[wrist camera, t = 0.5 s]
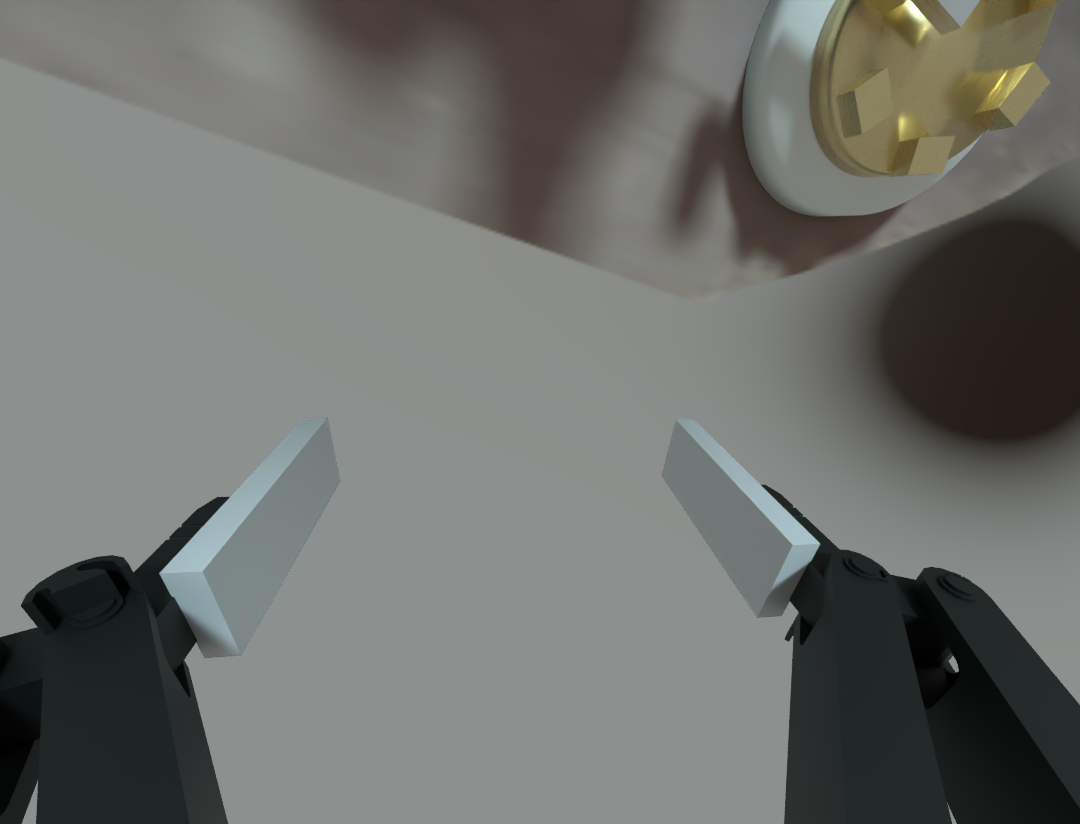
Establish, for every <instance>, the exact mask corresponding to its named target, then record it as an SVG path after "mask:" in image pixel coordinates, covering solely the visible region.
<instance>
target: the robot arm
mask: <svg viewBox="0 0 1080 824" xmlns="http://www.w3.org/2000/svg"><path fill="white" fill-rule="evenodd" d="M662 477H663V479H664V480H665V482H666V483H667V485H668V486H669V488H670V489H671V490H672V492H673V493H674V495H675V497H676V498H677V500H678V501H679V502H680V504H681V505H682V507H683V508H684V510H685V511H686V513H687V514H688V516H689V517H690V519H691V520H692V522H693V523H694V525H695V526H696V528H697V529H698V531H699V532H700V534H701V535H702V537H703V538H704V540H705V541H706V543H707V544H708V546H709V547H710V548H711V550H712V552H713V553H714V555H715V556H716V558H717V559H718V560H719V562H720V563H721V565H722V566H723V568H724V569H725V571H726V572H727V574H728V575H729V577H730V578H731V580H732V581H733V583H734V584H735V586H736V587H737V589H738V590H739V592H740V593H741V595H742V596H743V598H744V599H745V601H746V602H747V604H748V605H749V607H750V608H751V609H752V611H753V612H754V614H755V616H756V617H757V618H760V617H774V616H782V614H783V612H784V611H785V609H786V607H787V605H788V603H789V601H790V602H791V603H792V604H793V605H794V607H795V608H796V609H797V610H798V612H799V613H798V615H797V617H796V618H795V620H794V622H793V624H792V626H791V627H790V629H789V631H788V632H787V635H786V637H785V640H787V641H790V639H791V637H792V636H794V639H793V659H792V679H791V700H790V719H789V740H788V759H787V760H788V761H787V779H786V800H785V820H784V824H952V821H951V817H950V813H949V809H948V805H949V807H950V809H951V811H952V814H953V816H954V818H955V820H956V823H957V824H1080V705H1079V704H1078V702H1077V701H1076V700H1075V699H1074V698H1073V696H1072V695H1071V694H1070V693H1069V692H1068V690H1067V689H1066V688H1065V687H1064V686H1063V684H1062V683H1061V682H1060V681H1059V679H1058V678H1057V677H1056V676H1055V675H1054V674H1053V672H1052V671H1051V670H1050V669H1049V667H1048V666H1047V665H1046V664H1045V663H1044V661H1043V660H1042V659H1041V658H1040V657H1039V655H1038V654H1037V653H1036V652H1035V651H1034V649H1033V648H1032V647H1031V646H1030V645H1029V643H1028V642H1027V641H1026V640H1025V638H1024V637H1023V636H1022V635H1021V634H1020V632H1019V631H1018V630H1017V629H1016V628H1015V626H1014V625H1013V624H1012V623H1011V622H1010V620H1009V619H1008V618H1007V617H1006V616H1005V614H1004V613H1003V612H1002V611H1001V610H1000V608H999V607H998V606H997V605H996V604H995V602H994V601H993V600H992V599H991V598H990V597H989V596H988V595H987V594H986V593H985V592H984V591H983V590H982V589H981V588H979V587H978V586H976V585H975V584H974V583H972V582H971V581H970V580H968V579H966V578H965V577H961V575H958V574H956V573H953V572H950V571H947V570H944V569H941V568H934V567H929V568H924V569H923V571H922V572H921V573H920V575H919V576H918V577H917V579H916V580H914V579H909V578H904V577H899V576H894V575H890V574H889V573H888V572H887V571H886V570H885V569H884V568H883V567H882V566H880V565H879V564H878V563H876V562H875V561H873V560H872V559H870V558H868V557H866V556H864V555H862V554H859V553H856V552H853V551H849V550H840V549H838V548H837V547H836V546H835V545H834V544H833V543H832V542H831V541H830V540H829V539H828V538H827V537H826V536H825V535H824V534H823V533H821V532H820V531H819V530H818V529H817V528H816V527H815V526H814V525H813V524H812V523H811V522H810V521H809V520H808V519H807V518H806V517H803V515H802V514H801V513H800V512H799V511H798V510H797V509H796V508H793V505H792V504H791V503H790V502H789V501H787V499H785V498H784V497H783V496H782V495H781V494H779V493H778V492H776V491H775V490H773V489H771V488H770V487H768V486H766V485H760V484H759V483H758V482H757V481H756V480H755V479H754V478H753V477H752V476H751V475H750V474H749V473H748V472H747V471H746V470H745V469H743V467H742V466H741V465H739V464H738V462H736V461H735V460H734V459H733V458H732V457H731V456H730V455H729V454H728V453H727V452H726V451H725V450H724V449H723V448H722V447H721V446H720V445H719V444H718V443H717V442H716V441H715V440H714V439H713V438H712V437H711V436H710V435H709V434H708V433H707V432H706V431H705V430H704V429H703V428H702V427H701V426H700V425H699V424H698V423H697V422H696V421H694V420H676V421H675V426H674V429H673V433H672V437H671V441H670V445H669V449H668V452H667V456H666V460H665V464H664V468H663V472H662ZM339 482H340V477H339V473H338V468H337V463H336V458H335V453H334V448H333V443H332V438H331V434H330V428H329V423H328V418H303V419H302V420H301V421H300V423H299V424H298V425H297V426H296V427H295V428H294V429H293V430H292V431H291V432H290V433H289V435H287V436H286V438H285V439H284V440H283V441H282V442H281V443H280V444H279V445H278V446H277V447H276V448H275V449H274V450H273V452H272V453H271V454H270V455H269V456H268V457H267V458H266V459H265V460H264V461H263V462H262V463H261V465H260V466H259V467H258V468H257V469H256V470H255V471H254V472H253V473H252V474H251V475H250V476H249V477H248V479H247V480H246V481H245V482H244V483H243V484H242V485H241V486H240V487H239V488H238V489H237V490H236V491H235V493H234V494H233V495H232V496H231V497H217V498H215V499H214V500H212V501H210V502H209V503H207V504H205V505H204V506H202V507H201V508H199V509H197V510H196V511H195V512H194V513H193V514H192V515H191V516H190V517H189V518H188V519H187V520H186V521H185V522H184V523H183V524H182V527H179V528H178V529H177V530H176V531H175V532H174V533H173V534H172V535H171V536H170V539H169V540H166V541H165V542H164V543H163V544H162V545H161V546H160V547H159V548H158V549H157V550H156V551H155V552H154V553H153V554H152V555H151V556H150V557H149V558H148V559H147V560H146V561H145V562H144V563H143V564H142V565H141V566H140V567H139V568H138V569H137V570H136V571H135V572H134V573H133V571H132V570H131V568H130V566H129V564H128V563H127V561H126V560H125V559H124V558H123V557H118V556H113V555H111V556H102V557H95V558H92V559H88V560H85V561H81V562H78V563H75V564H73V565H71V566H69V567H66V568H64V569H62V570H60V571H57V572H56V573H54V574H53V575H51V576H49V577H48V578H46V579H45V580H43V581H42V582H40V583H38V584H37V585H36V586H35V587H34V588H33V589H32V590H31V591H30V592H29V593H28V594H27V595H26V596H25V598H24V600H23V602H22V604H21V607H22V608H23V609H24V610H25V612H26V613H27V614H28V615H29V617H30V618H31V619H32V620H33V621H34V623H35V624H36V625H37V628H33V629H29V630H26V631H22V632H18V633H14V634H11V635H7V636H3V637H0V824H22V821H23V818H24V816H25V813H26V810H27V808H28V805H29V802H30V800H31V797H32V794H33V792H34V789H35V786H36V784H37V781H38V795H37V797H38V798H37V816H36V824H228V822H227V818H226V814H225V810H224V806H223V802H222V798H221V794H220V790H219V786H218V782H217V778H216V774H215V770H214V766H213V763H212V759H211V755H210V751H209V747H208V743H207V739H206V735H205V731H204V727H203V723H202V719H201V716H200V711H199V707H198V703H197V700H196V696H195V692H194V688H193V684H192V680H191V676H190V672H189V668H188V666H187V665H186V663H185V661H184V659H185V658H186V656H187V654H188V653H189V652H190V650H191V649H192V647H193V646H194V644H195V643H197V645H198V647H199V649H200V650H201V652H202V654H203V656H204V658H212V657H226V656H240V655H242V653H243V651H244V650H245V648H246V646H247V644H248V643H249V641H250V639H251V637H252V636H253V634H254V632H255V630H256V628H257V627H258V625H259V623H260V621H261V620H262V618H263V616H264V614H265V613H266V611H267V609H268V607H269V606H270V604H271V602H272V600H273V598H274V597H275V595H276V593H277V591H278V590H279V588H280V586H281V584H282V582H283V581H284V579H285V577H286V576H287V574H288V572H289V570H290V569H291V567H292V565H293V563H294V561H295V560H296V558H297V556H298V554H299V552H300V551H301V549H302V547H303V546H304V544H305V542H306V540H307V539H308V537H309V535H310V533H311V531H312V530H313V528H314V526H315V524H316V522H317V521H318V519H319V517H320V516H321V514H322V512H323V510H324V509H325V507H326V505H327V503H328V501H329V499H330V498H331V496H332V494H333V493H334V491H335V489H336V487H337V486H338V484H339ZM952 656H954V657H955V659H956V661H957V664H958V668H959V672H957V673H956V672H955V671H954V670H953V668H952V666H951V665H950V663H949V662H948V661H949V660H950V659H951V657H952ZM947 803H948V805H947Z"/></svg>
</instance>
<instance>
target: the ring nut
mask: <svg viewBox="0 0 1080 824" xmlns="http://www.w3.org/2000/svg"><path fill="white" fill-rule="evenodd" d="M1057 1H1059V0H836V1H835V3H834V5H833V7H832V9H831V11H830V13H829V16H828V18H827V20H826V23H825V25H824V27H823V30H822V33H821V36H820V39H819V42H818V45H817V49H816V53H815V57H814V61H813V66H812V72H811V79H810V94H809V100H810V114H811V121H812V126H813V130H814V133H815V136H816V139H817V141H818V143H819V145H820V148H821V149H822V151H823V152H824V154H825V155H826V157H827V158H828V159H829V160H830V161H831V162H832V163H833V164H834V165H835V166H836V167H838V168H839V169H841V170H842V171H844V172H846V173H849V174H851V175H854V176H859V177H881V176H889V177H901V176H918V175H928V174H937V173H943V170H944V167H945V165H946V162H947V160H949V159H950V158H952V157H954V156H955V155H957V154H958V153H960V152H961V151H963V150H964V149H965V148H967V147H968V146H969V145H971V144H972V143H973V142H974V141H975V140H976V139H978V138H979V137H980V136H981V135H982V134H983V133H984V132H985V131H986V130H987V129H989V130H990V131H993V130H999V129H1004V128H1009V127H1015V126H1016V125H1017V123H1018V122H1019V121H1020V120H1021V118H1022V117H1023V116H1024V115H1025V113H1026V112H1027V111H1028V110H1029V109H1030V107H1031V106H1032V105H1033V104H1034V102H1035V101H1036V100H1037V99H1038V97H1039V96H1040V95H1041V94H1042V92H1043V91H1044V90H1045V89H1046V87H1047V86H1048V85H1049V84H1050V83H1051V82H1050V81H1049V79H1048V78H1047V77H1046V76H1045V74H1044V73H1043V72H1042V71H1041V69H1040V68H1039V67H1038V66H1037V65H1036V63H1035V61H1036V59H1037V57H1038V55H1039V52H1040V50H1041V48H1042V46H1043V43H1044V41H1045V38H1046V35H1047V33H1048V30H1049V27H1050V24H1051V21H1052V18H1053V14H1054V10H1055V7H1056V3H1057Z"/></svg>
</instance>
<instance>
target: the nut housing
mask: <svg viewBox="0 0 1080 824" xmlns="http://www.w3.org/2000/svg"><path fill="white" fill-rule="evenodd" d="M835 1H836V0H770V2H769V5H768V7H767V9H766V11H765V13H764V16H763V18H762V20H761V22H760V25H759V28H758V30H757V33H756V36H755V39H754V42H753V45H752V48H751V52H750V56H749V60H748V64H747V68H746V74H745V81H744V87H743V100H742V124H743V134H744V140H745V147H746V150H747V154H748V157H749V161H750V163H751V166H752V168H753V170H754V172H755V175H756V177H757V178H758V180H759V181H760V183H761V185H762V186H763V188H764V189H765V190H766V191H767V192H768V193H769V194H770V196H771V197H772V198H773V199H775V200H776V201H777V202H778V203H780V204H781V205H782V206H784V207H786V208H788V209H790V210H792V211H794V212H797V213H800V214H804V215H810V216H854V215H868V214H873V213H878V212H882V211H885V210H888V209H891V208H894V207H896V206H898V205H900V204H902V203H904V202H907V201H909V200H911V199H912V198H914V197H915V196H917V195H919V194H920V193H922V192H924V191H925V190H927V189H928V188H929V187H931V186H932V185H933V184H934V183H936V182H937V181H938V180H940V179H941V178H942V177H943V176H944V175H945V174H947V173H948V172H949V171H950V170H951V169H952V168H953V167H954V166H955V165H956V164H957V163H958V162H959V161H960V160H961V159H962V158H963V157H964V156H965V155H966V154H967V153H968V152H969V151H970V149H971V148H972V147H973V146H974V144H975V143H976V142H977V141H978V139H979V138H980V137H981V136H982V135H981V136H980V137H979V138H978V139H976V140H975V141H974V142H973V143H972V144H971V145H969V146H968V147H967V148H965V149H964V150H963V151H961V152H960V153H958V154H957V155H955V156H954V157H952V158H950V159H949V160H947V162H946V165H945V167H944V170H943V173H937V174H928V175H918V176H901V177H889V176H881V177H859V176H854V175H851V174H849V173H846V172H844V171H842V170H841V169H839V168H838V167H836V166H835V165H834V164H833V163H832V162H831V161H830V160H829V159H828V158H827V157H826V155H825V154H824V152H823V151H822V149H821V148H820V145H819V143H818V141H817V139H816V136H815V133H814V130H813V126H812V121H811V114H810V100H809V94H810V79H811V72H812V66H813V61H814V57H815V53H816V49H817V45H818V42H819V39H820V36H821V33H822V30H823V27H824V25H825V23H826V20H827V18H828V16H829V13H830V11H831V9H832V7H833V5H834V3H835Z"/></svg>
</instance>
